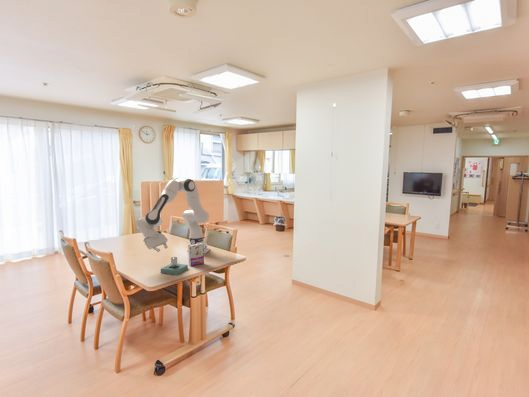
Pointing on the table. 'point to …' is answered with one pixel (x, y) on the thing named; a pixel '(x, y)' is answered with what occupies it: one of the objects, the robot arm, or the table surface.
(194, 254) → the candy bar box
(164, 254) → the table surface
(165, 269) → the block
